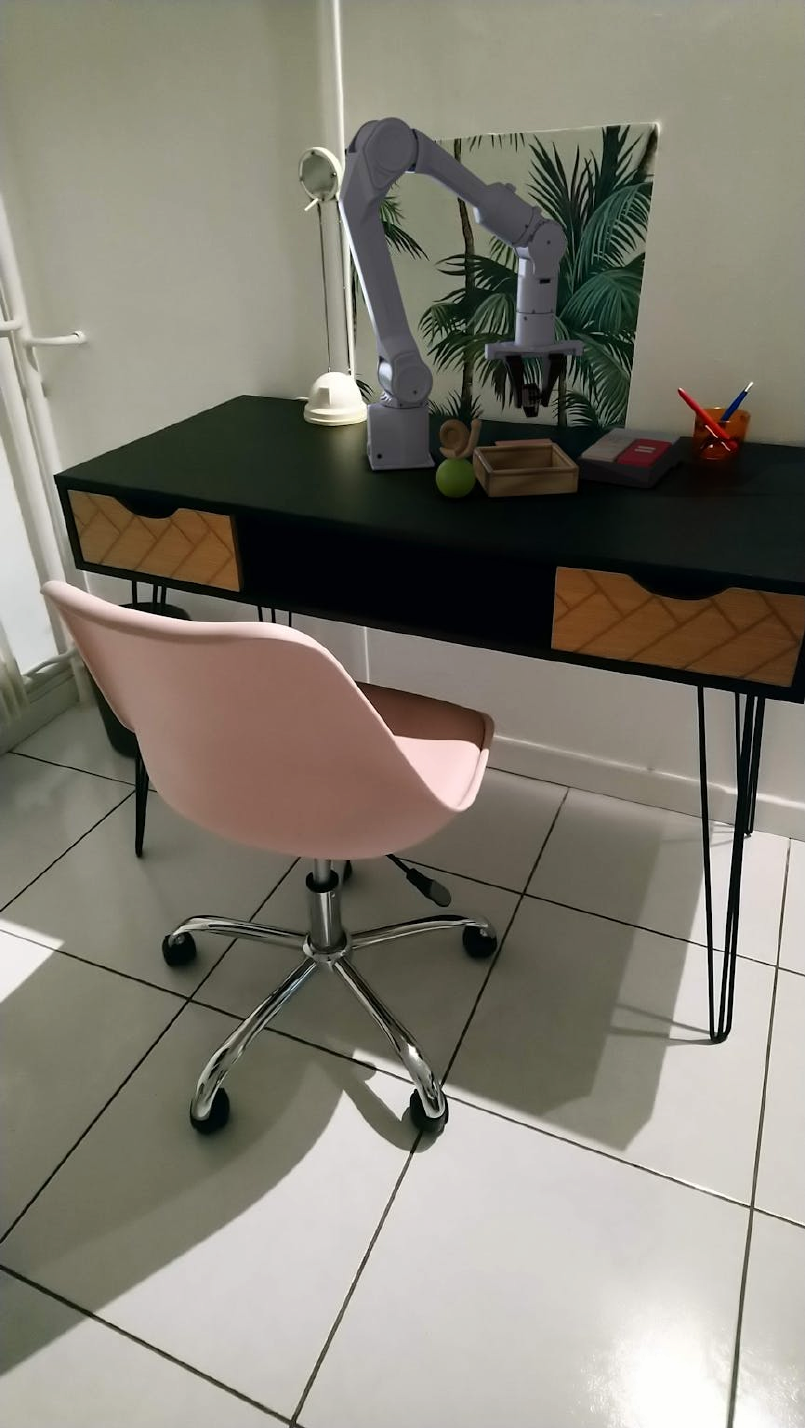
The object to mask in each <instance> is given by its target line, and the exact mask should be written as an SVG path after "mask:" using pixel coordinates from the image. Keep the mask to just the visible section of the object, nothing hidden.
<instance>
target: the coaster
mask: <svg viewBox="0 0 805 1428" xmlns="http://www.w3.org/2000/svg"><path fill="white" fill-rule="evenodd" d="M548 443H554V442H553V441H552V440H551V439H550V438H538V439H537V438H536V439H520V440H517V439H515V440H500V441H499V440H497V441H494V445H495V446H509V445H529V444H548Z"/></svg>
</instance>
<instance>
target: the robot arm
mask: <svg viewBox="0 0 805 1428" xmlns="http://www.w3.org/2000/svg"><path fill="white" fill-rule="evenodd" d="M345 158H346V160H345V161H346V162H345V166H344V170H343V175H342V179H341V180H342V181H341V186H340V190H339V195H338V209H339V213H340V216H341V219H342V223H343V226H344V231H345V233H346V236H347V237H346V238H347V240H348V243H349V247H350V252H351V255H352V258H353V261H354V262H353V263H354V265H355V269H356V272H357V275H358V279H359V283H360V287H361V289H362V293H363V297H364V300H365V304H366V307H367V312H368V314H369V315H368V316H369V318H370V321H371V325H372V329H373V332H374V335H375V352H376V356H377V365H376V379H377V381H378V384H379V385H380V387H381V388H382V389H383V391H382V393H381V397H380V399H379V400H380V402H378V403H371V404H367V406H366V424H367V425H366V426H367V428H366V429H367V442H366V454H367V456H368V460H369V463H370V467H371V470H372V471H386V470H387V471H389V470H404V469H406V470H407V469H421V468H425V469H426V468H435V466H436V463H435V461H434V460H433V457H432V456H431V453H430V402H429V401H430V398H429V396H430V395H431V393H432V390H433V386H434V376H433V372H432V370H431V369H430V367H429V366H428V365H427V364H426V363H425V361H424V360H423V358H422V356H421V352H420V349H419V347H418V344H417V342H416V340H415V338H414V336H413V334H412V332H411V329H410V325H409V322H408V318H407V313H406V310H405V306H404V302H403V298H402V295H401V290H400V286H399V284H398V280H397V276H396V275H397V274H396V271H395V268H394V264H393V260H392V257H391V253H390V249H389V245H388V241H387V238H386V233H385V229H384V226H383V222H382V218H381V214H380V208H381V206H382V204H383V202H384V201H385V199H386V197H387V195H388V193H389V191H390V190H391V187H392V186H393V185H395V183H396V182H397V181H398V180H399V179H400V178H402V177H403V176H404V174H414V175H424V176H426V177H427V178H428V179H430V180H431V181H433V182H435V183H436V184H438V185H439V186H441V187H442V188H443V189H445V190H447V191H448V192H449V193H451V194H452V195H454V196H456V197H457V198H458V199H460V200H461V201H463V202H464V203H466V204H467V205H469V206H470V207H471V208H472V210H473V214H474V220H475V222H476V224H477V225H479V226H480V227H481V228H483V229H484V230H486V231H487V232H488V233H490V234H491V235H493V237H496V238H497V239H498V240H499V241H501V242H502V243H503V244H505V245H506V246H508V247H509V248H510V249H512V251H513V253H514V255H515V256H516V258H518V275H517V292H516V293H517V294H516V314H515V315H516V316H515V317H516V319H515V337H514V338H515V339H514V341H513V340H512V341H504V342H496V343H495V342H494V343H485V345H484V358H485V360H487V361H494V360H495V359H502V363H503V366H504V368H505V370H506V373H507V377H508V379H509V382H510V386H511V390H512V396H513V402H514V403H513V406H514V408H516V409H517V410H520V409H521V410H523V406H522V387H523V386H524V374H525V369H526V364H524V363H523V362H524V361H523V359H522V358H539V357H541V372H542V373H541V388H540V391H541V399H540V402H541V405H540V406H541V407H542V408H549V406H550V405H549V404H550V400H551V397H552V393H553V390H554V387H555V386H556V383H557V381H558V378H559V377H560V375H561V373H562V371H563V370H564V368H565V366H566V363H567V362H566V361H567V360H566V358H565V356H575V357H582V356H583V352H584V342H583V341H582V340H580V339H555V331H556V330H555V329H556V314H557V313H556V311H557V296H558V284H559V283H558V282H559V280H558V279H559V267H560V266H559V265H560V261H561V260H562V258H563V257H564V256H565V254H566V252H567V248H568V245H569V241H568V240H566V235H565V233H566V232H564V231H563V230H564V228H563V226H562V225H561V223H559V222H558V221H556V220H555V219H552V218H544V217H542V212H543V208H541V207H540V206H539V205H531V204H530V203H529V202H527V201H526V200H525V199H524V198H522V197H521V196H520V195H518V194H517V193H516V191H517V187H516V186H515V185H514V184H512V183H511V182H506V183H505V184H504V183H503V182H501V181H496V182H493V183H490V184H486V183H485V182H484V181H483V180H482V179H481V178H479V177H478V176H477V175H476V174H474V173H473V172H472V171H471V170H470V169H469V168H467V167H466V166H465V165H464V164H463V163H461V162H460V161H459V160H458V159H456V158H455V157H454V156H453V155H452V154H450V153H449V152H448V151H447V150H445V149H444V147H442V146H440V145H439V144H438V143H437V142H436V141H435V140H434V139H432V138H430V137H429V136H428V135H426V134H425V133H424V132H422V131H420V130H419V129H417V128H413V127H412V128H411V126H410V125H409V124H407V122H406V121H404V120H403V119H400V118H398V117H393V116H389V117H384V118H382V119H381V120H379V119H372V120H368V121H367V122H365V123H363V124H361V126H360V127H359V128H358V130H357V131H356V132H355V134H354V136H353V138H352V139H351V141H350V143H349V145H348V146H347V148H346V157H345Z"/></svg>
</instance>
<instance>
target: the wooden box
mask: <svg viewBox="0 0 805 1428" xmlns="http://www.w3.org/2000/svg"><path fill="white" fill-rule="evenodd" d="M472 466H473V468H474V470H475V474H476V479H477V480H478V482H479V484H480V486H482V488H483V490H484V492H485V493H486V495H487V496H488V498H501V497H520V496H521V497H522V496H537V495H538V496H539V495H552V494H553V495H554V494H569V493H570V494H571V493H578V484H579V478H578V473H579V467H578V466H577V463H576V462H574V461H573V460H572V458H571V457H569V455H568V454H567V453H566V452H565V451H564V450H563V449H562V447H560V446H559V445H558V444H557V443H556V442H553V443H548V444H529V445H509V446H496V445H495V446H494V445H492V446H476V448H475V450H474V452H473V453H472Z"/></svg>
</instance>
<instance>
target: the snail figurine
mask: <svg viewBox="0 0 805 1428" xmlns="http://www.w3.org/2000/svg"><path fill="white" fill-rule="evenodd" d="M483 413H484V410H483V409H479V410H477V411H476V415H477V416H478V417H477V418H474V419H473V420H472V421H471V422H470V426H471V430H470V431H469V428H468V427H467V425H465V423H463V422H462V421H461V420H459V419H448V420H446V421H445V422H444V423H443V424H442V425H441V426H440V430H439V440H440V442H441V445H442V446H441V447H439V451H440V453H441V454H442V455H443V456H444V457H445V458H447V459H445V460H443V461H442V462H441V464H440V465H439V466H438V468H437V470H436V473H435V483H436V486H437V488H438V490H439V491H440V492H441V494H443V495H444V496H445V497H446V498H447V497H448V498H450V499H460V498H464V497H465V496H467V495H469V494H470V492H471V491H472V490H473V489H474V487H475V485H476V480H477V477H476V474H475V470H474V468H473V464H472V463H471V462H470V461H468V460H467V458H469V457H470V456H473V452H474V450H475V448H476V447H477V446H478V442H479V438H480V432H481V429H482V424H483V422H482V418H480V416H481V415H482V414H483Z"/></svg>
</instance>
